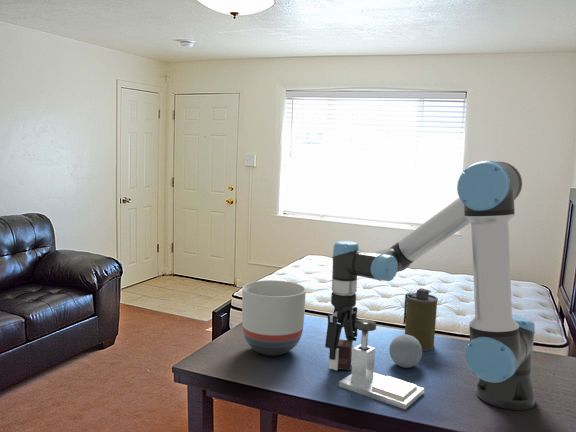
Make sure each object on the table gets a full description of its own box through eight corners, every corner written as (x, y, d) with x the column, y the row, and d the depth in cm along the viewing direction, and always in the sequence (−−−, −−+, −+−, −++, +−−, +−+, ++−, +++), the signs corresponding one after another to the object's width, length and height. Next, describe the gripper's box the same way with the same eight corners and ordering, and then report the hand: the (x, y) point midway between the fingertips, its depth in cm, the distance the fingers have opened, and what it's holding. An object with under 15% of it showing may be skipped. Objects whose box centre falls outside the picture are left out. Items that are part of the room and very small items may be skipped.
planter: (307, 343, 175) (309, 283, 173) (297, 367, 155) (300, 299, 153) (249, 338, 179) (251, 278, 176) (233, 360, 159) (235, 293, 156)
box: (349, 370, 154) (350, 347, 153) (329, 368, 155) (330, 345, 154) (351, 363, 159) (352, 340, 159) (332, 360, 161) (333, 338, 160)
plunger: (377, 367, 146) (380, 322, 144) (367, 374, 141) (369, 327, 140) (358, 362, 150) (361, 317, 148) (348, 368, 145) (350, 322, 143)
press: (423, 393, 141) (426, 357, 140) (405, 409, 132) (408, 370, 130) (360, 372, 153) (362, 339, 152) (339, 386, 144) (340, 350, 142)
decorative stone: (424, 364, 161) (426, 334, 160) (416, 375, 153) (418, 343, 152) (393, 357, 166) (395, 327, 165) (384, 368, 157) (386, 336, 156)
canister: (438, 344, 179) (442, 289, 177) (429, 353, 170) (433, 295, 168) (408, 337, 185) (411, 284, 183) (397, 346, 176) (401, 289, 174)
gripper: (350, 284, 165) (347, 352, 168) (314, 296, 149) (311, 371, 151) (371, 288, 160) (367, 358, 163) (336, 301, 144) (333, 378, 147)
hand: (340, 364), depth 157 cm, fingers closed on box, 8 cm apart
